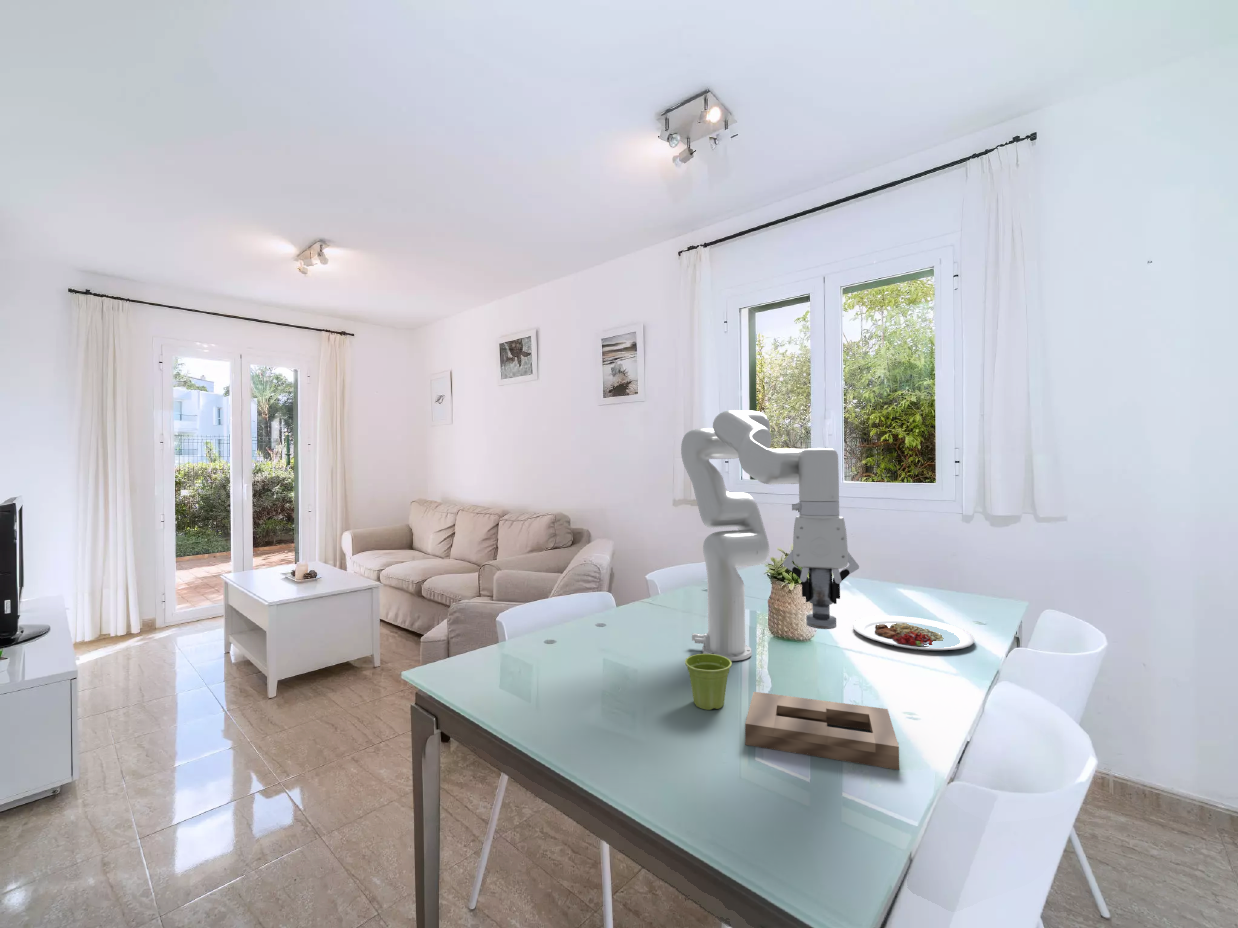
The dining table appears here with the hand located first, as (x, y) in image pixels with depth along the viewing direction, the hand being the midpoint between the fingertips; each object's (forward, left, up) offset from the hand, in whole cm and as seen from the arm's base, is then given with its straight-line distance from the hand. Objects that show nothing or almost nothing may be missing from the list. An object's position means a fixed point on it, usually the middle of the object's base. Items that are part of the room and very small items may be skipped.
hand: (820, 600), depth 107 cm
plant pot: (-22, -5, -22) cm, 31 cm away
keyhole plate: (-1, -12, -22) cm, 25 cm away
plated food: (+24, +56, -22) cm, 65 cm away
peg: (0, 0, -5) cm, 5 cm away
